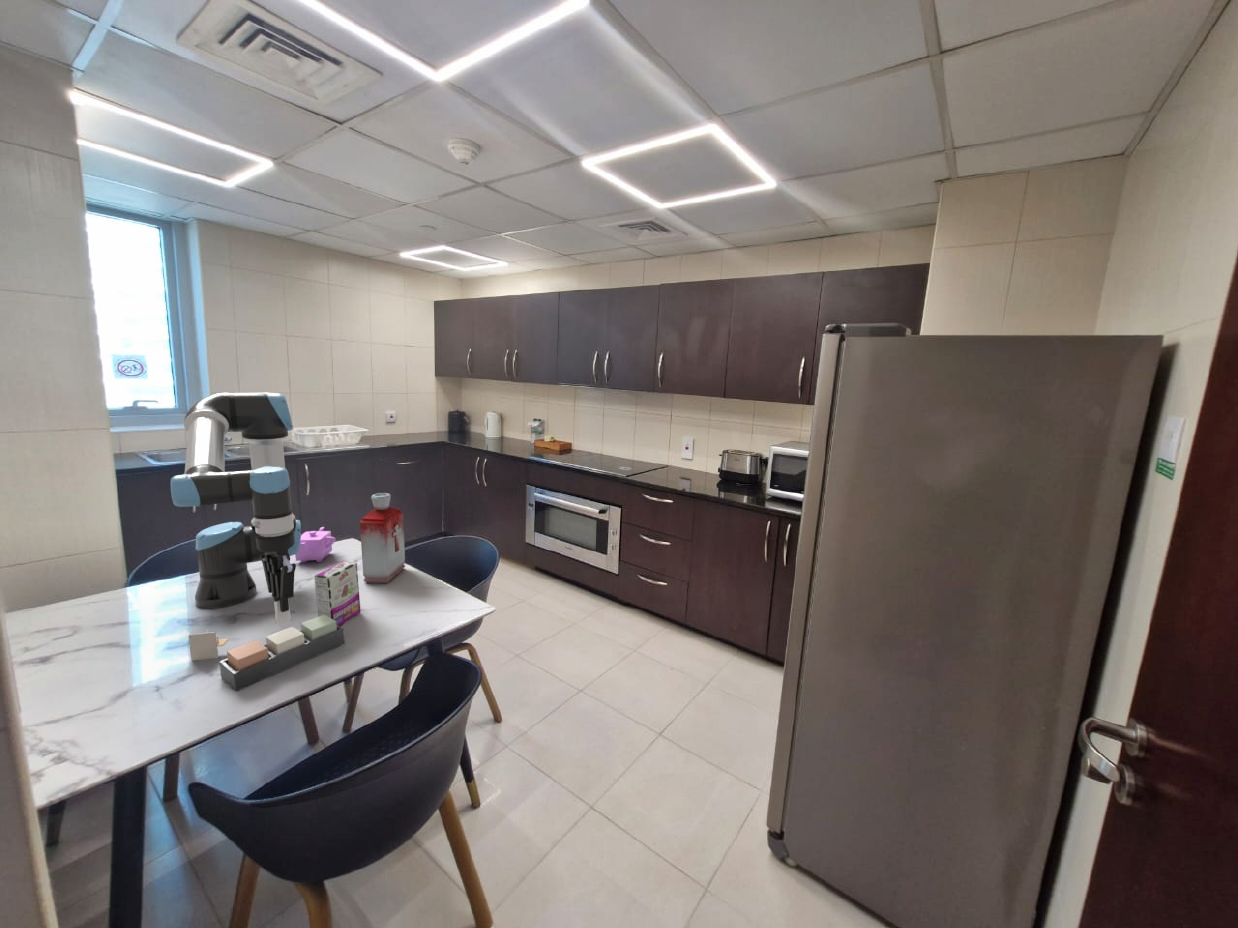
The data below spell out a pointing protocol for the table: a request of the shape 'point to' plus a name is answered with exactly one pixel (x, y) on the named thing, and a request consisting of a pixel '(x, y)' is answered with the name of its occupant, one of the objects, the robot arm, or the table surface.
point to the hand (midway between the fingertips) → (283, 621)
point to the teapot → (315, 545)
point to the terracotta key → (247, 655)
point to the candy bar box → (338, 592)
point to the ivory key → (284, 640)
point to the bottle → (382, 541)
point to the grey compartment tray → (280, 660)
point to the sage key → (318, 627)
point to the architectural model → (205, 645)
